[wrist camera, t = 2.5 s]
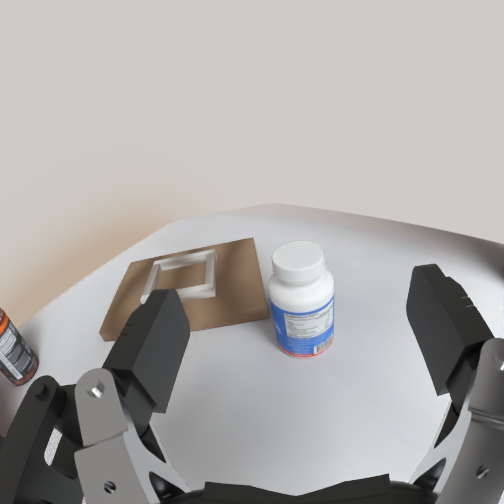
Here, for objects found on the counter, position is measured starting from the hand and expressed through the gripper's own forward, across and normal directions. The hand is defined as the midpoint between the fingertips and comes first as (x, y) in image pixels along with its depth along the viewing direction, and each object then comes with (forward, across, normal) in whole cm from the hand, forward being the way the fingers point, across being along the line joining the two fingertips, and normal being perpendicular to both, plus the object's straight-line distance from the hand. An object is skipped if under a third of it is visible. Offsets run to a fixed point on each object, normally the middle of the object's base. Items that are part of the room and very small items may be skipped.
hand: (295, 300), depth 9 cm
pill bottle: (+12, 0, +15) cm, 19 cm away
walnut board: (+21, +15, +15) cm, 30 cm away
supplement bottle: (+4, +35, +15) cm, 38 cm away
